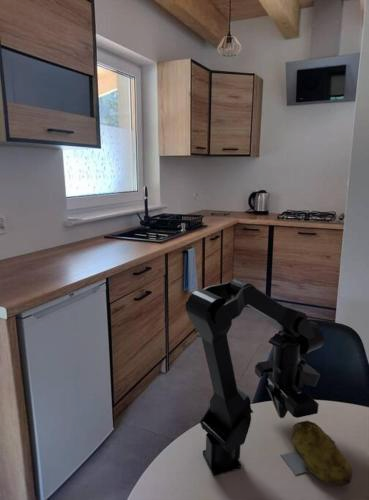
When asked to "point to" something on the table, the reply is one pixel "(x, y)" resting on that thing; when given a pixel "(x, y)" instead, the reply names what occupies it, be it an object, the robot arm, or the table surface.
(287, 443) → the table surface
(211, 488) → the table surface
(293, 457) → the mat
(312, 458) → the potato
